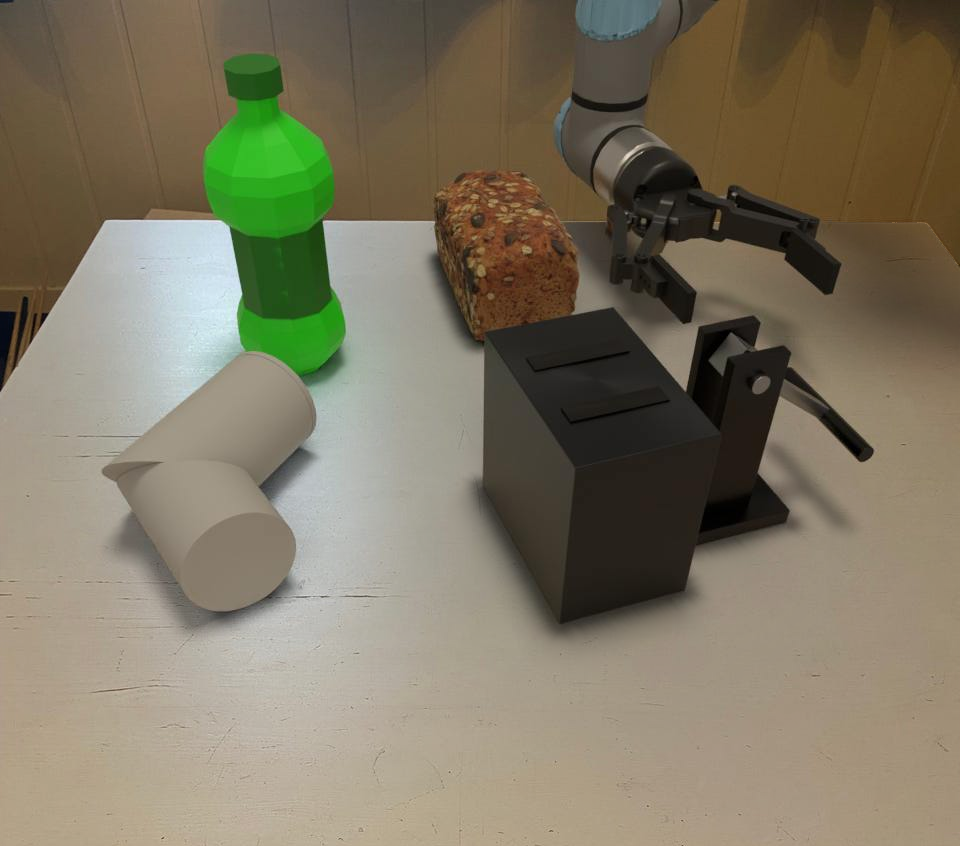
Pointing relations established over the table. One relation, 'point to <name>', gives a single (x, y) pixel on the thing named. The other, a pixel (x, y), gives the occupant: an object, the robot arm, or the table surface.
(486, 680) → the table surface
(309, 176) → the plastic bottle
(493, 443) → the toaster
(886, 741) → the table surface
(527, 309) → the bread
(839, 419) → the lever
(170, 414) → the elbow connector
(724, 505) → the lever bracket
